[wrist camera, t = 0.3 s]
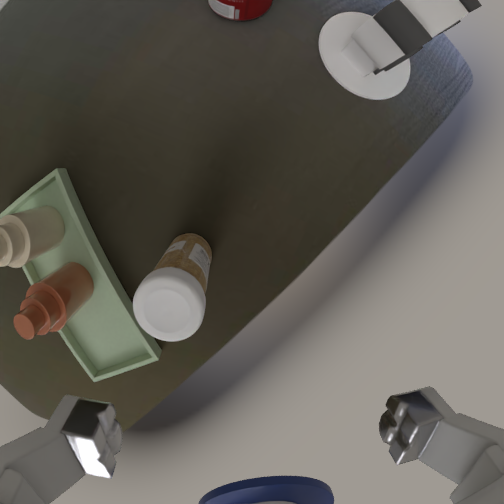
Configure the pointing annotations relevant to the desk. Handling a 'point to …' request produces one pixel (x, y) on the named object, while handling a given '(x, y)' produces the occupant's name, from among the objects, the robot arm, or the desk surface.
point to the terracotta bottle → (54, 300)
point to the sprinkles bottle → (175, 290)
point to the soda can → (240, 8)
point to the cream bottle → (29, 235)
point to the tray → (105, 287)
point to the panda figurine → (384, 43)
